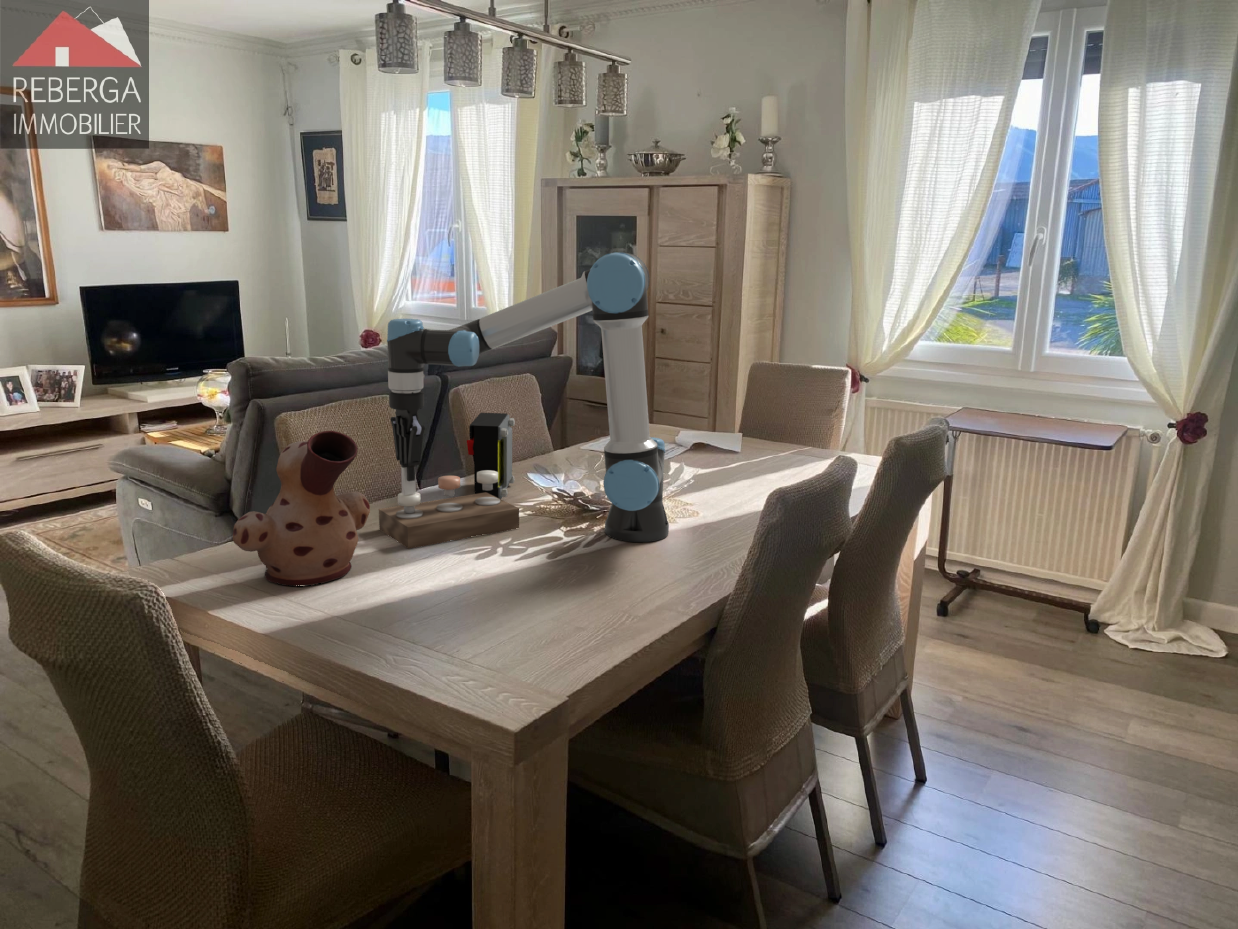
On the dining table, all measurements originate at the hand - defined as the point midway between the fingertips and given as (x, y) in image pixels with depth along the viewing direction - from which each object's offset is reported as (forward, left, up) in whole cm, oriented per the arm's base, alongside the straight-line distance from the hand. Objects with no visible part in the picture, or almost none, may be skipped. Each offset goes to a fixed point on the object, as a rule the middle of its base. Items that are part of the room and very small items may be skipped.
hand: (408, 493), depth 208 cm
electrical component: (+23, -34, -10) cm, 42 cm away
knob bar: (0, -10, -10) cm, 14 cm away
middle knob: (0, -10, -2) cm, 10 cm away
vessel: (-13, +26, -10) cm, 31 cm away
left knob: (0, 0, -4) cm, 4 cm away
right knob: (0, -20, -2) cm, 20 cm away
